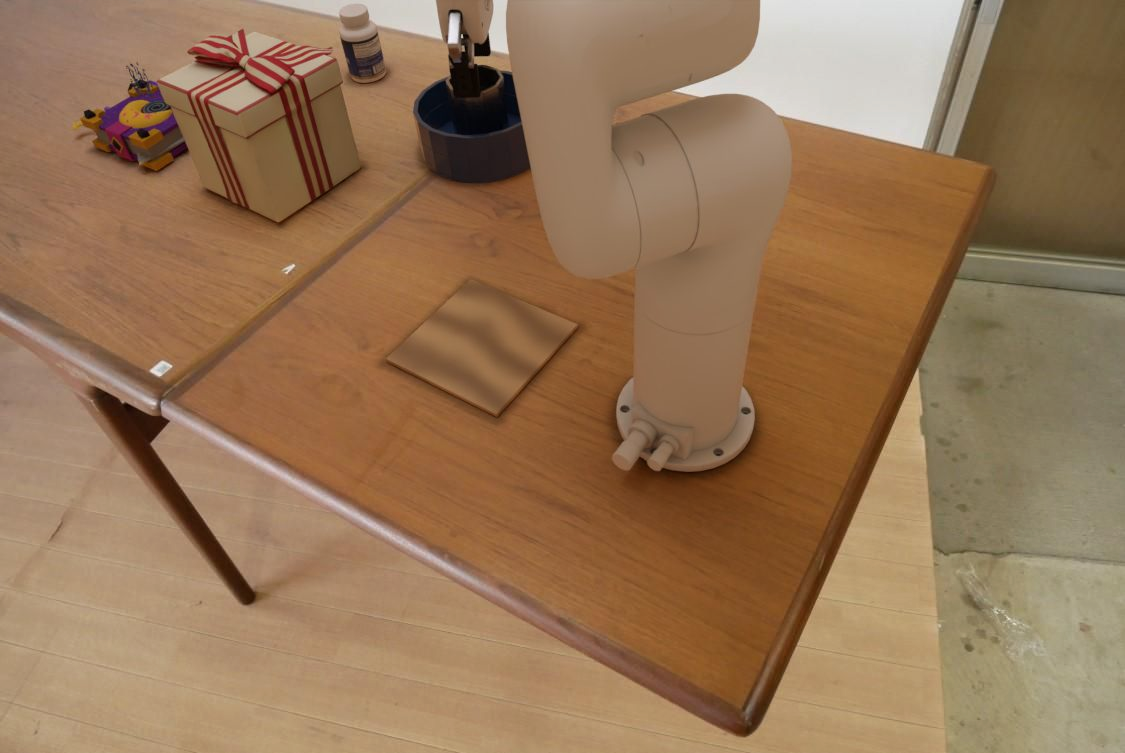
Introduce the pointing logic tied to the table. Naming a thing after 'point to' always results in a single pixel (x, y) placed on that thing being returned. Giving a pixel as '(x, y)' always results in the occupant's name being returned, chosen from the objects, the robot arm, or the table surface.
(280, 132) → the gift box
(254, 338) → the table surface
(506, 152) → the dark blue round tub
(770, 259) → the table surface
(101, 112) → the lego model
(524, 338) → the plate
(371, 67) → the pill bottle
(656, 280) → the robot arm
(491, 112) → the small pot
